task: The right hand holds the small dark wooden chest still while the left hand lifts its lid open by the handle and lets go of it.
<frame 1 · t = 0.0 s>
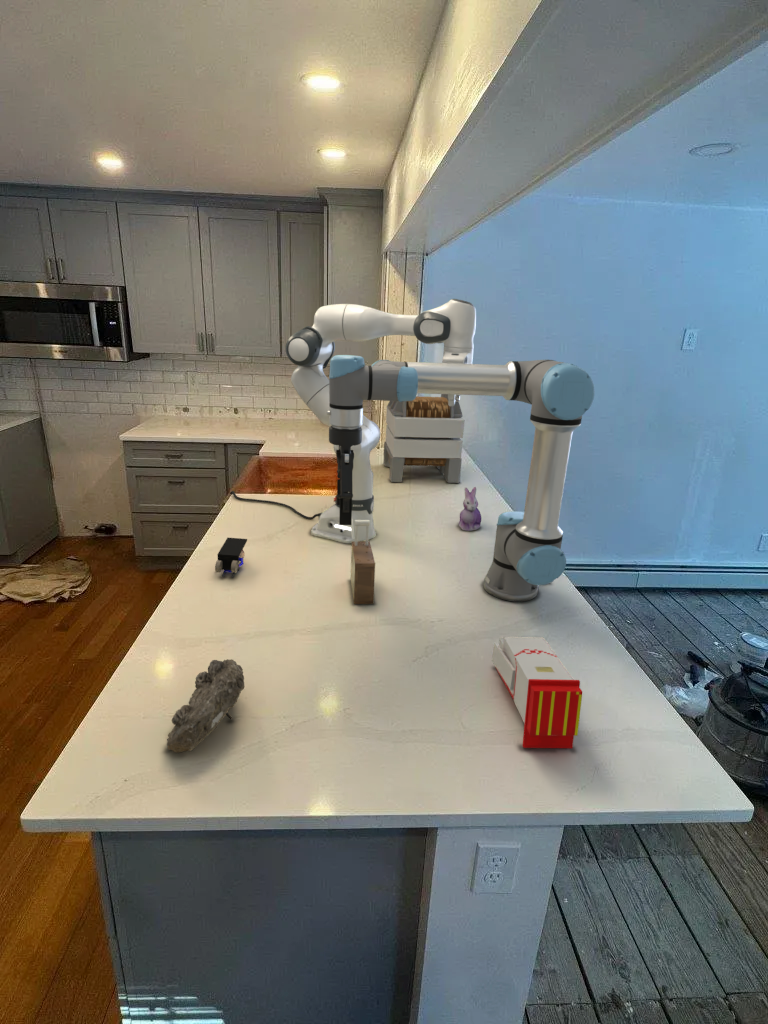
left hand: (454, 403, 174), 48 cm above the counter, tool pointing down, fingers open, 8 cm apart
right hand: (343, 514, 135), 28 cm above the counter, tool pointing down, fingers open, 13 cm apart
fossil: (212, 717, 108), on the counter
transformer: (419, 473, 275), on the counter
lid: (363, 541, 153), point 15 cm above the counter, hinge at 0.0°
figurine: (469, 527, 209), on the counter
figurine character: (232, 569, 168), on the counter
chest: (361, 591, 158), on the counter
toy: (527, 700, 117), on the counter
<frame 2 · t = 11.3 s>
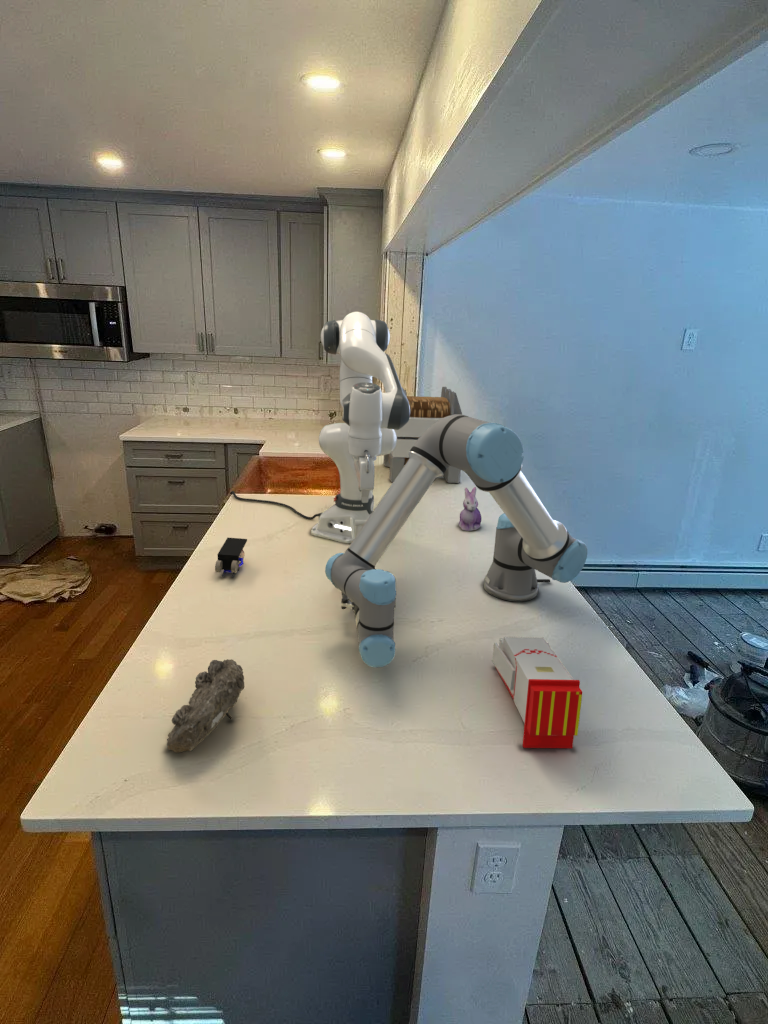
left hand: (363, 496, 154), 26 cm above the counter, tool pointing down, fingers open, 8 cm apart
right hand: (363, 573, 154), 7 cm above the counter, tool horizontal, fingers closed on chest, 5 cm apart
chest: (361, 591, 158), on the counter, touching right hand
everything else where it was.
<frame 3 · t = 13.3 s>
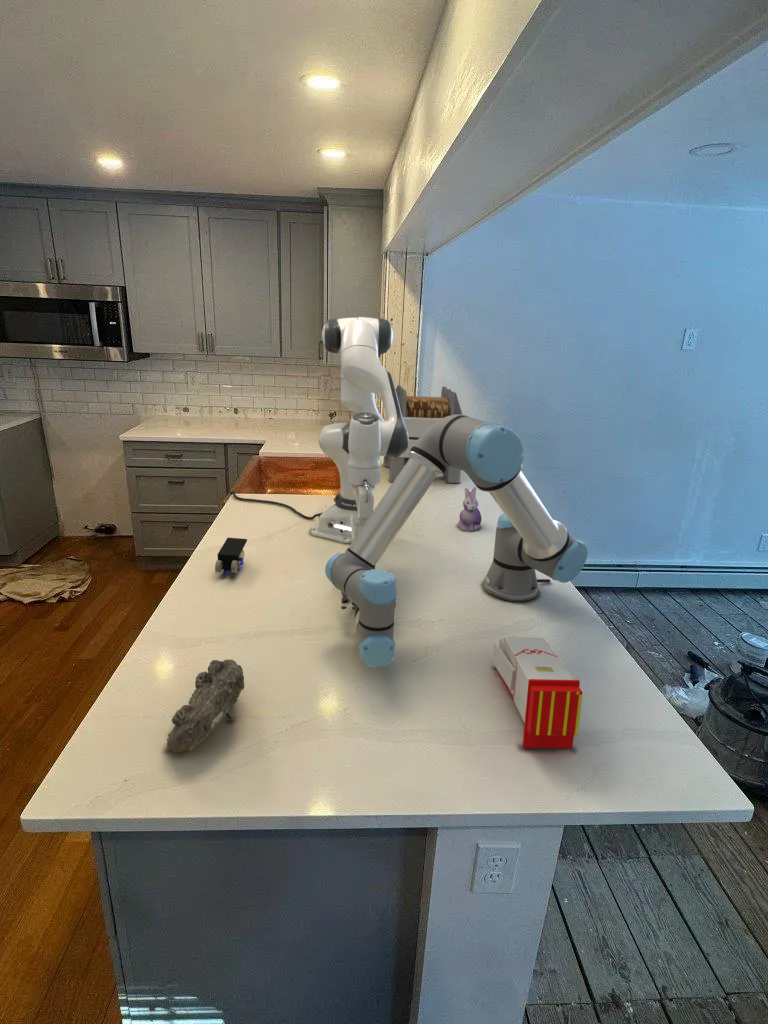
left hand: (362, 523, 157), 19 cm above the counter, tool pointing down, fingers closed on lid, 2 cm apart
right hand: (363, 573, 154), 7 cm above the counter, tool horizontal, fingers closed on chest, 5 cm apart
lid: (363, 541, 153), point 15 cm above the counter, hinge at -0.2°, touching left hand
chest: (361, 591, 158), on the counter, touching right hand
everything else where it was.
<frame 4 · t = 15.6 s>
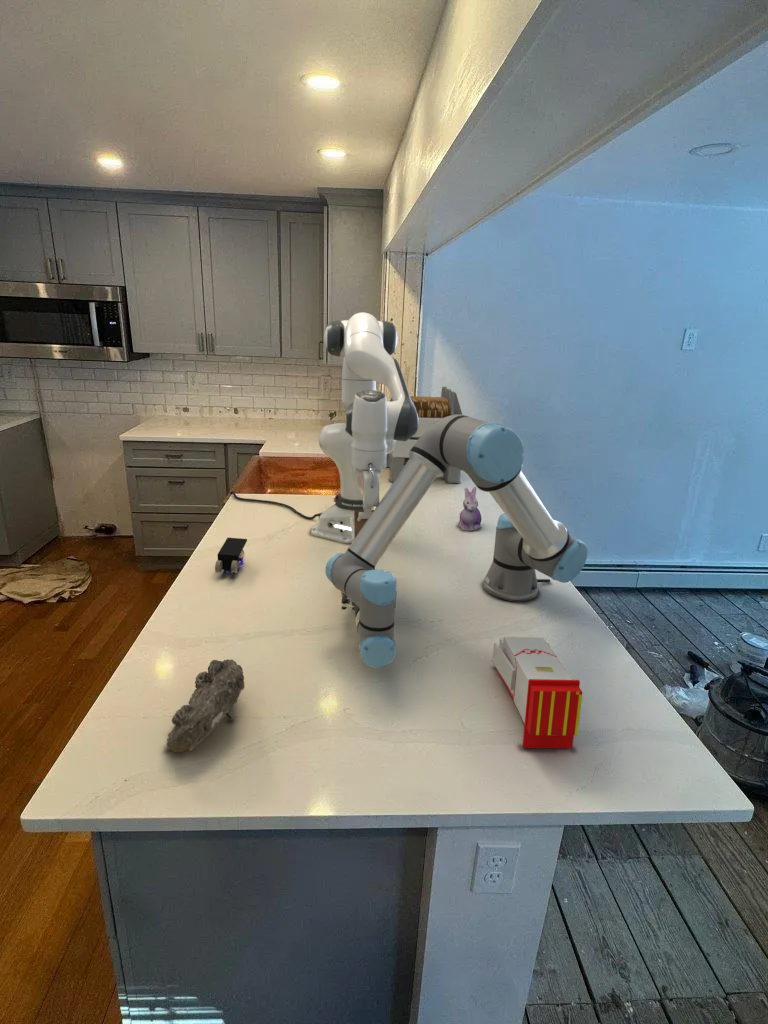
left hand: (367, 512, 143), 26 cm above the counter, tool pointing down, fingers closed, pressing on lid
right hand: (363, 573, 153), 7 cm above the counter, tool horizontal, fingers closed on chest, 5 cm apart
lid: (365, 535, 145), point 20 cm above the counter, hinge at 59.1°, touching left hand
chest: (361, 592, 158), on the counter, touching right hand
everything else where it was.
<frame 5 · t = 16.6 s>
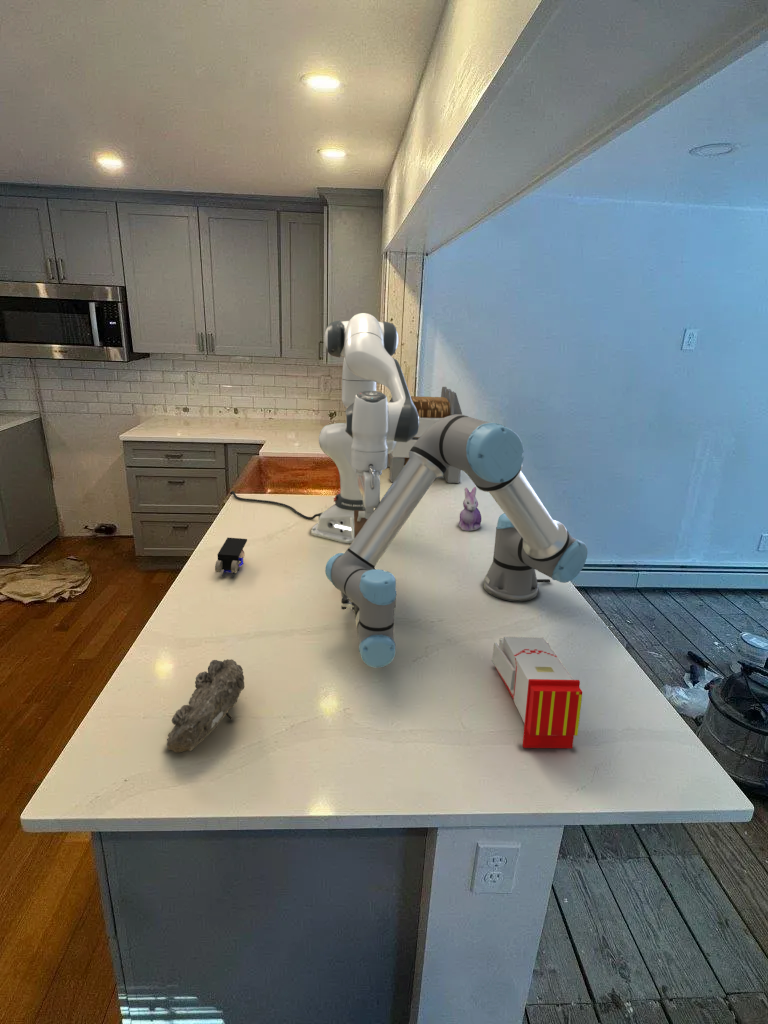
left hand: (367, 514, 142), 26 cm above the counter, tool pointing down, fingers open, 5 cm apart
right hand: (363, 573, 153), 7 cm above the counter, tool horizontal, fingers closed on chest, 5 cm apart
lid: (365, 535, 146), point 20 cm above the counter, hinge at 56.2°, touching left hand
chest: (361, 591, 158), on the counter, touching right hand
everything else where it was.
when the right hand's fingers open (7 cm above the counter, at t = 20.6 s): chest stays where it is, on the counter.
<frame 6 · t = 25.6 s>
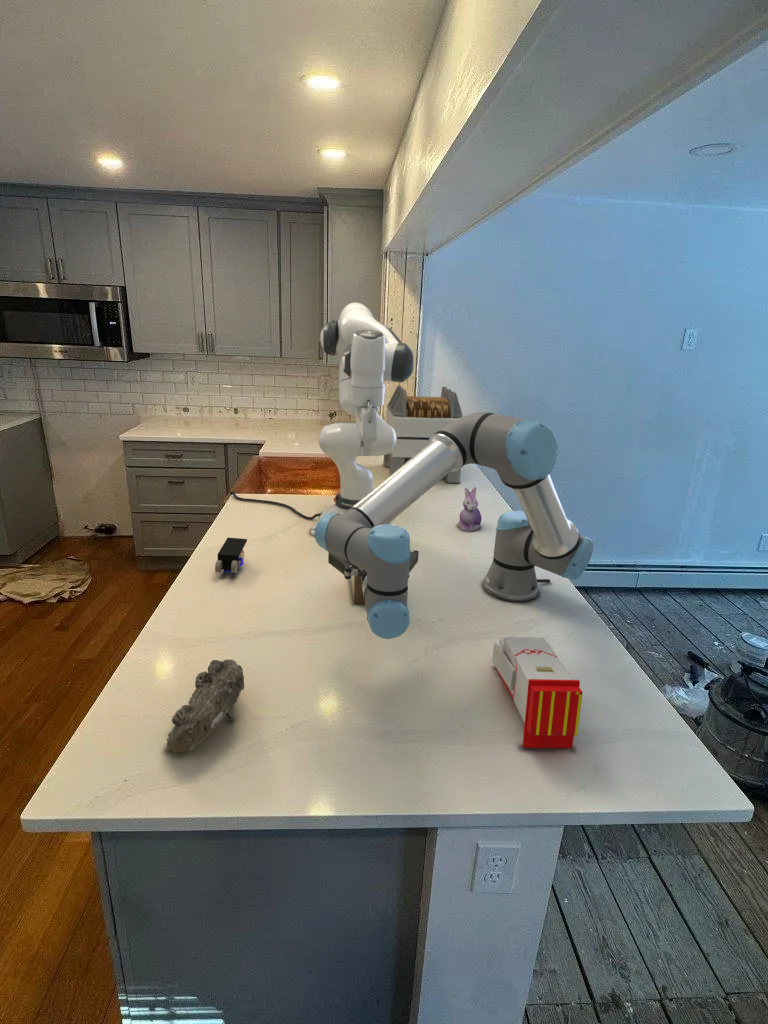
left hand: (365, 450, 148), 39 cm above the counter, tool pointing down, fingers open, 8 cm apart
right hand: (370, 543, 134), 22 cm above the counter, tool horizontal, fingers open, 13 cm apart
lid: (365, 534, 146), point 20 cm above the counter, hinge at 53.5°
chest: (361, 591, 158), on the counter
everything else where it was.
at the end: lid at +54° (first picture: +0°); the left hand is holding nothing; the right hand is holding nothing; chest tilted 0°; chest never tilted more than 1° during the clip; chest moved 0.0 cm from its start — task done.
